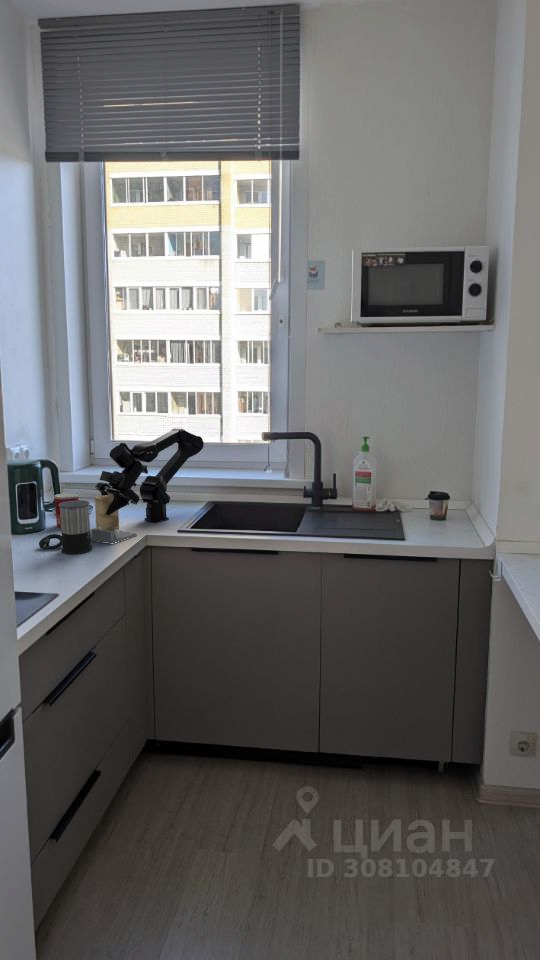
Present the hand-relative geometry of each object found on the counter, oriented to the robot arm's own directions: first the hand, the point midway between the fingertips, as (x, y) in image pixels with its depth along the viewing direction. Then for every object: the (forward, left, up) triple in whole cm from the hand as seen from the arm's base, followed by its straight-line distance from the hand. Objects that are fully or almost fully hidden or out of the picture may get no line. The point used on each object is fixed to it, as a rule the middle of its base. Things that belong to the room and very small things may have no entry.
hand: (102, 513), depth 248 cm
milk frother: (+19, +9, -7) cm, 22 cm away
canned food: (+3, -17, -7) cm, 19 cm away
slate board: (+2, +9, -7) cm, 11 cm away
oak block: (-2, 0, -7) cm, 7 cm away
